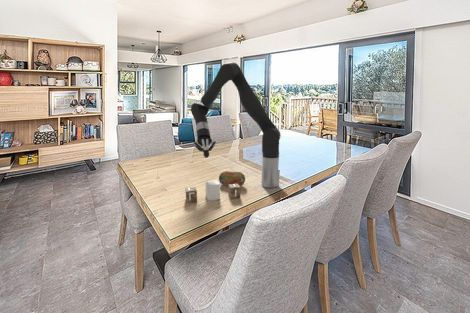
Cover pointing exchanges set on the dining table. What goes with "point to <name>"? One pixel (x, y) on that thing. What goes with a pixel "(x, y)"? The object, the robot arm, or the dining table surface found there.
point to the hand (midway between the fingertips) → (206, 157)
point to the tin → (231, 178)
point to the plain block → (212, 190)
